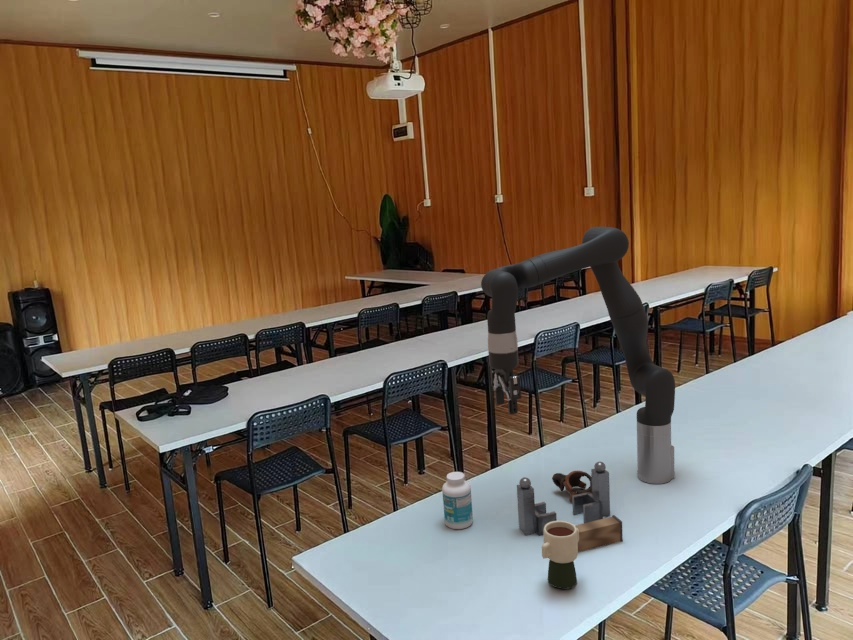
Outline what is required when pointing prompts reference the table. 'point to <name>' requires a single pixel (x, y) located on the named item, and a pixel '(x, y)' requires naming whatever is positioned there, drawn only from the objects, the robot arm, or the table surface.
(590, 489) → the broken pottery vessel
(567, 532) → the character mug
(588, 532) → the walnut rail
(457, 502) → the pill bottle
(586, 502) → the ball knob clevis bracket
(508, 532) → the table surface
